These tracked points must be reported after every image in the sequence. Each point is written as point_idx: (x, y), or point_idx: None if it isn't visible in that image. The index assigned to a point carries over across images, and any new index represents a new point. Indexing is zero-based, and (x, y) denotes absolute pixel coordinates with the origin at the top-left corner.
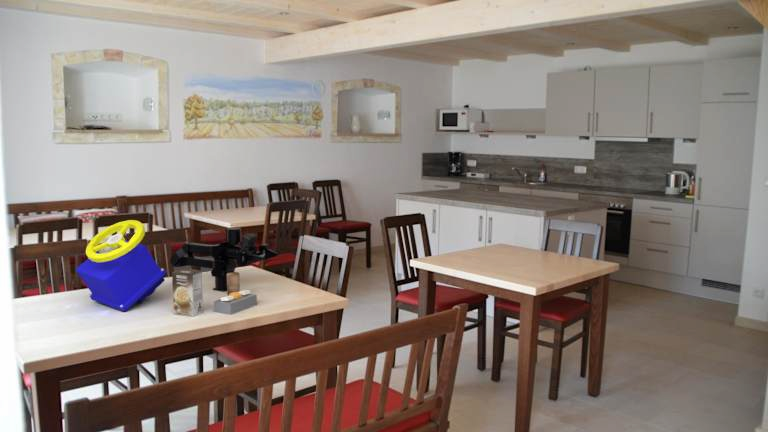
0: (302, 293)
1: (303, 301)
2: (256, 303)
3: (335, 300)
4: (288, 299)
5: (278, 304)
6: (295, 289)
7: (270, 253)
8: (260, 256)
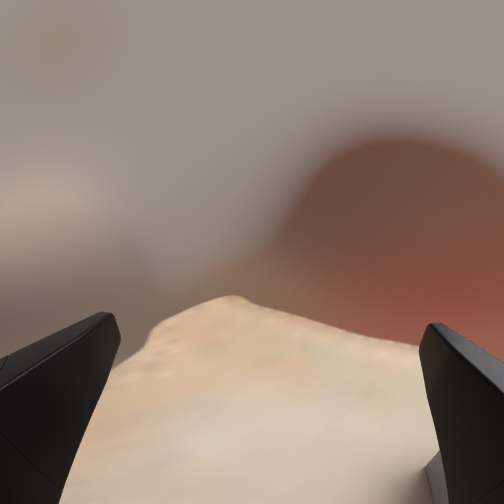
0: (159, 409)
1: (276, 364)
2: (430, 462)
3: (225, 306)
4: (277, 419)
5: (364, 409)
6: (94, 452)
7: (44, 405)
8: (456, 341)
